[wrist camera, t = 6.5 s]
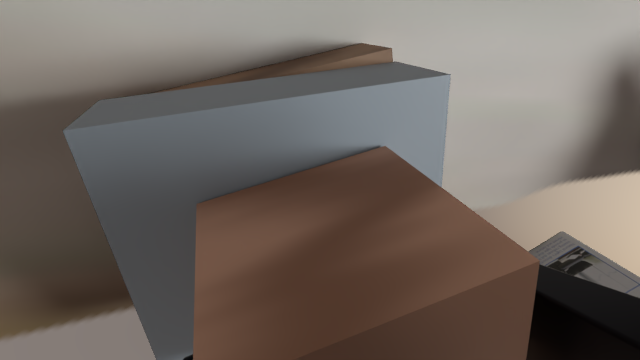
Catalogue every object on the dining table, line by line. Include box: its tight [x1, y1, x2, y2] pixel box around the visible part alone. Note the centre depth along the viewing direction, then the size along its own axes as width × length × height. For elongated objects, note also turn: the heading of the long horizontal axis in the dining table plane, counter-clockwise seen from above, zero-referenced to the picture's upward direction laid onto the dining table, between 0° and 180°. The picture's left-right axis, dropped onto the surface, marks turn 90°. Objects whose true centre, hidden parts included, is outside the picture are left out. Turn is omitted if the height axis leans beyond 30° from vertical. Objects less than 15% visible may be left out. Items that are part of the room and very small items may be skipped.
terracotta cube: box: [193, 146, 540, 360], centre depth 8 cm, size 5×5×5 cm
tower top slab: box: [63, 62, 451, 360], centre depth 12 cm, size 9×9×3 cm
